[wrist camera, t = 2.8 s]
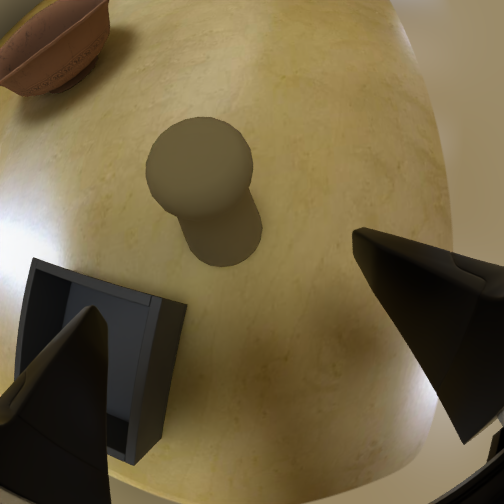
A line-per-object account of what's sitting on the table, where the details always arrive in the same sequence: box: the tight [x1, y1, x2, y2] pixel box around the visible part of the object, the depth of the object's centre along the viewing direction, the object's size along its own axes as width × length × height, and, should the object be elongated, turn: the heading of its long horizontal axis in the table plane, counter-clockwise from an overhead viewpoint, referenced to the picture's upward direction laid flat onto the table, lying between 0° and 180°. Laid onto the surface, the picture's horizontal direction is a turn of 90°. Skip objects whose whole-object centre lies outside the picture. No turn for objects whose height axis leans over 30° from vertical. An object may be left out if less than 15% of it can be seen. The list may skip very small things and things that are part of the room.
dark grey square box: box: [14, 257, 187, 466], centre depth 17 cm, size 11×11×6 cm
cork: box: [146, 117, 262, 267], centre depth 17 cm, size 6×6×11 cm
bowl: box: [0, 0, 110, 97], centre depth 24 cm, size 22×22×11 cm
